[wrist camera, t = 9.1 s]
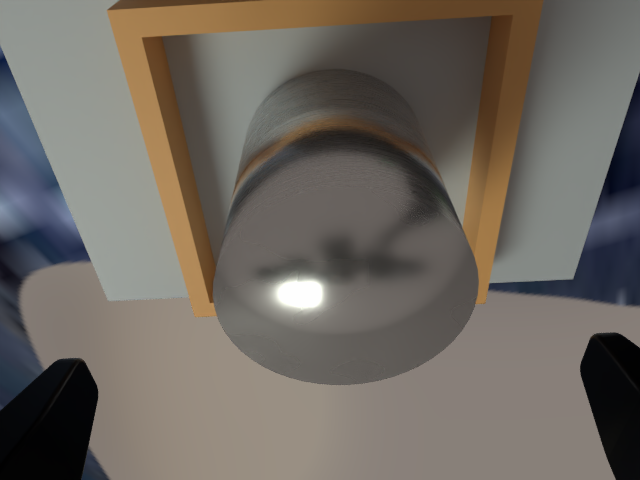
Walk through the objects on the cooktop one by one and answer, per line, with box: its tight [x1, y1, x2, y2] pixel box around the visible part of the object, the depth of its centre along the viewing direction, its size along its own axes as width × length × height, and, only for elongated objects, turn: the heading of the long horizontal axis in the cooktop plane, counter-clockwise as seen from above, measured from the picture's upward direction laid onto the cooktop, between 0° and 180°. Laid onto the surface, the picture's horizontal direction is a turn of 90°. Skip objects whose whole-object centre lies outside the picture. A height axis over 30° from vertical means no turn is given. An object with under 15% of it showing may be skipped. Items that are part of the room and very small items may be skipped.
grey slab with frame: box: [0, 0, 640, 317], centre depth 15 cm, size 16×10×4 cm, turn 93°
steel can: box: [213, 69, 479, 385], centre depth 13 cm, size 5×5×6 cm
